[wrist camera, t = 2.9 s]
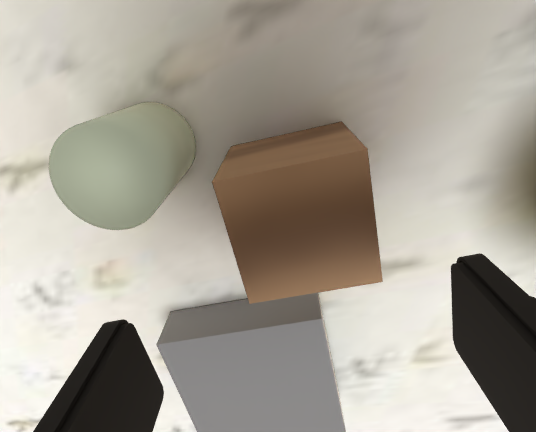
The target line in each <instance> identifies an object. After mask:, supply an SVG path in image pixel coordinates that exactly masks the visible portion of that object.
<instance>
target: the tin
mask: <svg viewBox="0 0 536 432" xmlns="http://www.w3.org/2000/svg"><path fill="white" fill-rule="evenodd" d="M195 152H196V144H195V138H194V135H193V132H192V130H191V128H190V126H189V124H188V123H187V121H186V120H185V119H184V118H183V117H182V116H181V115H180V114H179V113H178V112H177V111H175V110H174V109H172V108H170V107H169V106H166V105H164V104H160V103H156V102H144V103H139V104H136V105H133V106H130V107H127V108H125V109H122V110H119V111H116V112H113V113H110V114H107V115H104V116H101V117H98V118H95V119H93V120H90V121H87V122H84V123H81V124H78V125H75V126H73V127H71V128H69V129H68V130H66V131H65V132H63V133H62V134H61V135H60V136H59V137H58V139H57V140H56V142H55V143H54V145H53V147H52V149H51V153H50V157H49V173H50V178H51V182H52V185H53V187H54V189H55V191H56V193H57V195H58V197H59V198H60V199H61V201H62V202H63V204H64V205H65V206H66V207H67V208H68V209H69V210H70V211H71V212H72V213H73V214H75V215H76V216H77V217H79V218H80V219H82V220H84V221H85V222H87V223H89V224H92V225H94V226H97V227H100V228H104V229H110V230H124V229H129V228H133V227H136V226H138V225H140V224H142V223H144V222H145V221H146V220H148V219H149V218H150V217H151V216H152V215H153V214H154V212H155V211H156V210H157V209H158V207H159V206H160V205H161V204H162V202H163V201H164V200H165V199H166V197H167V196H168V195H169V194H170V192H171V191H172V190H173V189H174V187H175V186H176V185H177V184H178V182H179V181H180V180H181V179H182V177H183V176H184V175H185V173H186V172H187V171H188V170H189V168H190V167H191V165H192V163H193V161H194V157H195Z"/></svg>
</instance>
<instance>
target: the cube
mask: <svg viewBox="0 0 536 432" xmlns="http://www.w3.org/2000/svg"><path fill="white" fill-rule="evenodd" d="M212 183H213V187H214V190H215V193H216V196H217V200H218V203H219V206H220V209H221V213H222V216H223V219H224V222H225V226H226V229H227V232H228V235H229V239H230V242H231V245H232V248H233V252H234V255H235V258H236V261H237V265H238V268H239V271H240V274H241V278H242V281H243V284H244V287H245V291H246V294H247V297H248V300H249V304H252V303H258V302H264V301H270V300H276V299H282V298H288V297H294V296H300V295H306V294H312V293H318V292H324V291H330V290H336V289H342V288H348V287H354V286H360V285H366V284H372V283H378V282H383V281H382V272H381V263H380V254H379V246H378V237H377V228H376V219H375V211H374V202H373V193H372V184H371V175H370V167H369V158H368V149H367V148H366V147H365V146H364V145H363V144H362V143H361V142H360V141H359V140H358V138H357V137H356V136H355V135H354V134H353V133H352V132H351V131H350V130H349V129H348V128H347V127H346V126H345V125H344V123H343V122H338V123H333V124H329V125H324V126H320V127H315V128H311V129H306V130H302V131H297V132H293V133H288V134H284V135H279V136H275V137H270V138H266V139H261V140H257V141H252V142H248V143H243V144H239V145H234V146H231V147H230V149H229V151H228V153H227V155H226V157H225V159H224V160H223V162H222V164H221V166H220V168H219V170H218V172H217V174H216V176H215V177H214V179H213V181H212Z"/></svg>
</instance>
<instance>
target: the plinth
mask: <svg viewBox="0 0 536 432" xmlns="http://www.w3.org/2000/svg"><path fill="white" fill-rule="evenodd" d="M157 347H158V349H159V351H160V353H161V355H162V358H163V360H164V362H165V364H166V366H167V368H168V370H169V373H170V375H171V377H172V379H173V381H174V383H175V385H176V387H177V390H178V392H179V394H180V396H181V398H182V400H183V402H184V405H185V407H186V409H187V411H188V413H189V415H190V417H191V420H192V422H193V424H194V426H195V428H196V430H197V432H346V430H345V425H344V419H343V413H342V407H341V402H340V396H339V391H338V386H337V381H336V376H335V372H334V367H333V362H332V357H331V352H330V347H329V343H328V338H327V333H326V328H325V323H324V319H323V314H322V309H321V304H320V299H319V294H318V293H312V294H306V295H300V296H294V297H288V298H282V299H276V300H270V301H264V302H258V303H252V304H249V300H248V299H243V300H237V301H231V302H225V303H219V304H213V305H207V306H201V307H195V308H189V309H183V310H178V311H172V312H170V314H169V317H168V319H167V321H166V324H165V326H164V328H163V331H162V333H161V335H160V338H159V340H158V342H157Z"/></svg>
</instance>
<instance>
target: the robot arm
mask: <svg viewBox="0 0 536 432" xmlns="http://www.w3.org/2000/svg"><path fill="white" fill-rule="evenodd" d="M451 286H452V320H453V341H454V345H455V348H456V350H457V352H458V353H459V355H460V357H461V358H462V360H463V361H464V363H465V364H466V366H467V367H468V369H469V370H470V372H471V374H472V375H473V377H474V378H475V380H476V381H477V383H478V384H479V386H480V387H481V389H482V391H483V392H484V394H485V395H486V397H487V398H488V400H489V401H490V403H491V404H492V406H493V408H494V409H495V411H496V412H497V414H498V415H499V417H500V418H501V420H502V421H503V423H504V425H505V426H506V428H507V429H508V431H509V432H536V298H534V297H531V296H529V295H528V294H527V293H525V292H524V291H523V290H522V289H521V288H520V287H519V286H518V285H517V284H515V283H514V282H513V281H512V280H511V279H510V278H509V277H508V276H507V275H505V274H504V273H503V272H502V271H501V270H500V269H499V268H498V267H497V266H495V265H494V264H493V263H492V262H491V261H490V260H489V259H488V258H487V257H485V256H484V255H483V254H474V255H469V256H464V257H459V258H458V259H457V263H455V264H452V266H451ZM163 395H164V391H163V386H162V384H161V382H160V380H159V377H158V375H157V373H156V371H155V369H154V367H153V365H152V363H151V361H150V358H149V356H148V354H147V352H146V350H145V348H144V346H143V344H142V341H141V339H140V337H139V335H138V333H137V331H136V329H135V327H134V325H133V324H132V323H128V322H127V321H126V320H117V321H112V322H107V323H104V324H103V325H102V327H101V328H100V330H99V331H98V333H97V334H96V336H95V337H94V339H93V340H92V342H91V343H90V345H89V347H88V348H87V350H86V351H85V353H84V354H83V356H82V357H81V359H80V360H79V362H78V363H77V365H76V367H75V368H74V370H73V371H72V373H71V374H70V376H69V377H68V379H67V380H66V382H65V384H64V385H63V387H62V388H61V390H60V391H59V393H58V394H57V396H56V397H55V399H54V400H53V402H52V404H51V405H50V407H49V408H48V410H47V411H46V413H45V414H44V416H43V417H42V419H41V420H40V422H39V424H38V425H37V427H36V428H35V430H34V431H33V432H152V431H153V428H154V425H155V422H156V419H157V416H158V413H159V410H160V407H161V404H162V401H163Z"/></svg>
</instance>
